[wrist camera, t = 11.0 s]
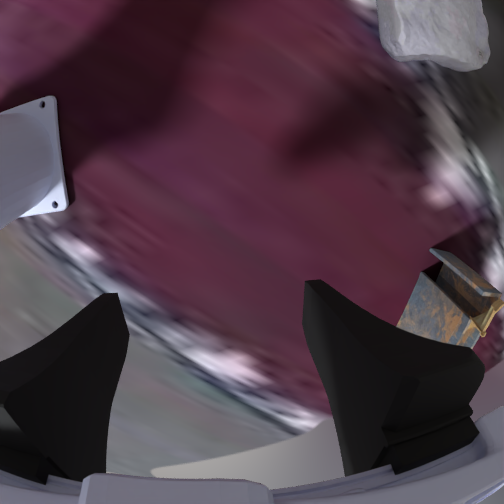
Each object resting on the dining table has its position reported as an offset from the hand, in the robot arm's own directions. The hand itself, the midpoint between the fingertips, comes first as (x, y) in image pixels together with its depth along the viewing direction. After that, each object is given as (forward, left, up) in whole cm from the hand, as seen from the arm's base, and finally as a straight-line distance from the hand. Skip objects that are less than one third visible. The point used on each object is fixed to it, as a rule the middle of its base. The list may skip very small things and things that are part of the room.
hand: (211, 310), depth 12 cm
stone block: (+16, +17, -10) cm, 26 cm away
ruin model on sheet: (+17, -9, -11) cm, 22 cm away
